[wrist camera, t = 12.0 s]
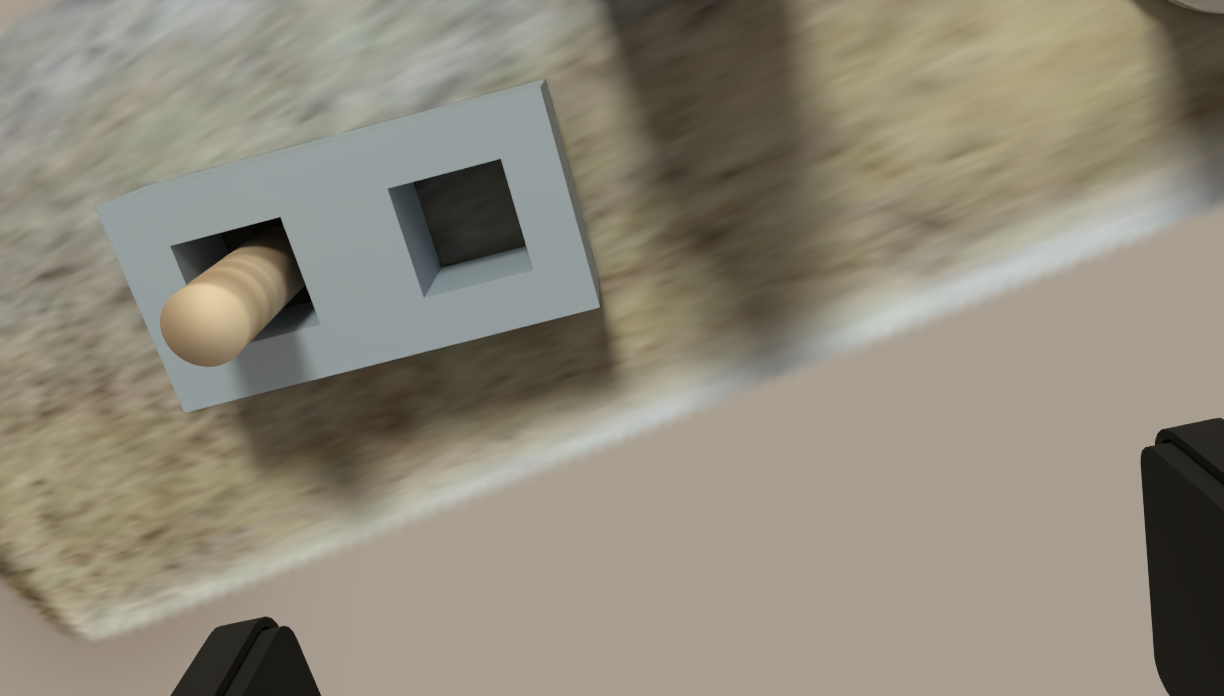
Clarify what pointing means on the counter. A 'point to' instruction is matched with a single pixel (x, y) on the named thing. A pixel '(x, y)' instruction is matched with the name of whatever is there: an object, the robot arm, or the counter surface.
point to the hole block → (365, 243)
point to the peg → (232, 300)
